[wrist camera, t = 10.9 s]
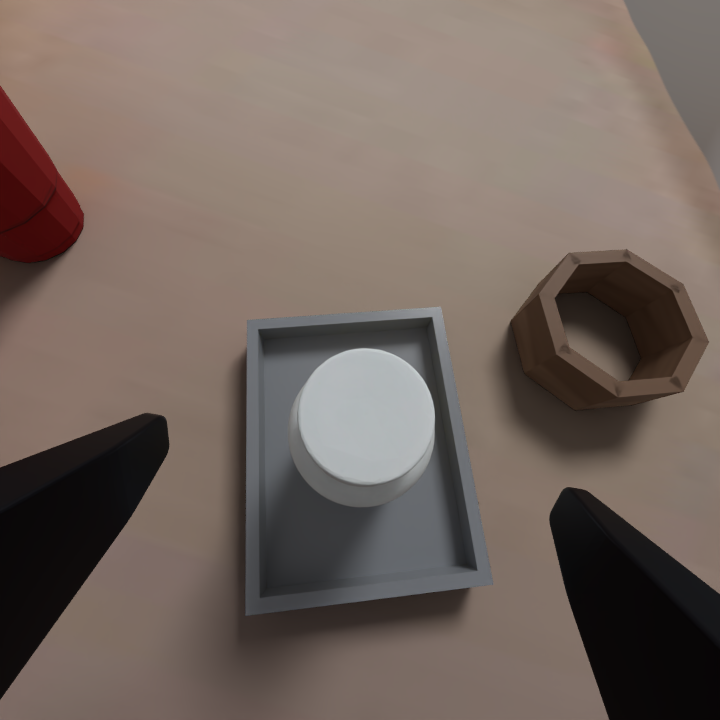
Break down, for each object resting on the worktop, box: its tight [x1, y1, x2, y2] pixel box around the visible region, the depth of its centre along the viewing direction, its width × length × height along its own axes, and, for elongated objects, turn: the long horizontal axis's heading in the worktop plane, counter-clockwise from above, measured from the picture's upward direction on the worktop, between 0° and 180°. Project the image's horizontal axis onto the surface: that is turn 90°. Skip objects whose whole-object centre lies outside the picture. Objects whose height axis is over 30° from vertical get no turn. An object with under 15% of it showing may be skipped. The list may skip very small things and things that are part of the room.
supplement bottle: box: [288, 348, 435, 507], centre depth 15 cm, size 5×5×10 cm
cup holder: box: [511, 249, 709, 411], centre depth 21 cm, size 9×9×4 cm
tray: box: [245, 307, 493, 616], centre depth 19 cm, size 14×11×2 cm
